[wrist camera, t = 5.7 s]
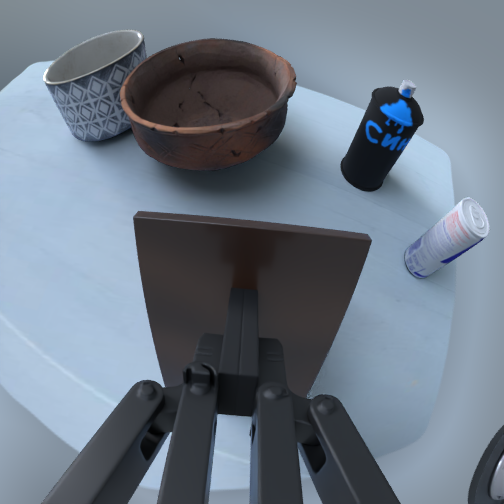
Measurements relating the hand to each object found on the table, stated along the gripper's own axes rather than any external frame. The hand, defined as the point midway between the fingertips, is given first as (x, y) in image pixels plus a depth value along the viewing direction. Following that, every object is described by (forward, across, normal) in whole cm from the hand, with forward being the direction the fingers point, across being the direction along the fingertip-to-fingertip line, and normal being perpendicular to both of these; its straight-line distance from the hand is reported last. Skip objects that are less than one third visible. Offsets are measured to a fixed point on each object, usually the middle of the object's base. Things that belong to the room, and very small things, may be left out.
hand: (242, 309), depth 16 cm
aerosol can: (+34, -19, -7) cm, 39 cm away
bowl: (+36, +8, -8) cm, 38 cm away
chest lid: (+2, 0, +3) cm, 3 cm away
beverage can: (+23, -27, +5) cm, 36 cm away
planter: (+42, +30, -14) cm, 53 cm away
